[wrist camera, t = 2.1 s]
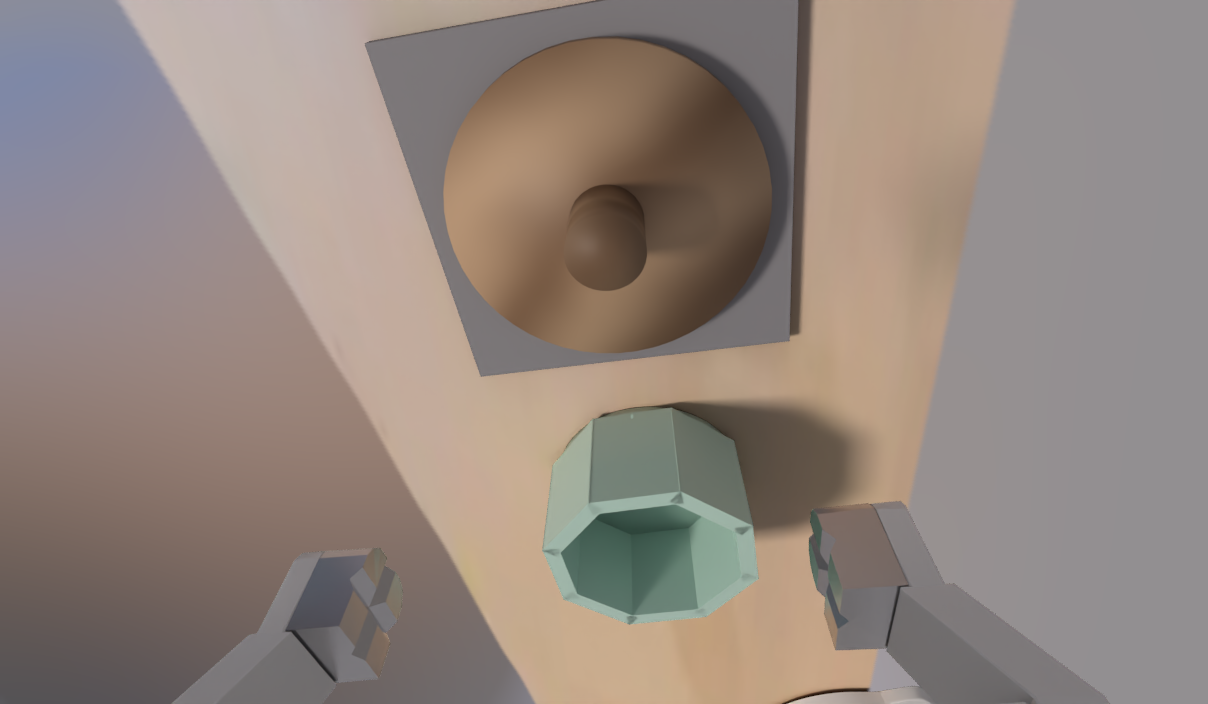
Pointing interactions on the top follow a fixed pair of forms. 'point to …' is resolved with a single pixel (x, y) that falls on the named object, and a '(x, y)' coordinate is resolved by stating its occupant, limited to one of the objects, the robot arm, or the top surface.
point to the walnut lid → (607, 195)
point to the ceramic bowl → (649, 518)
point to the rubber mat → (622, 8)
